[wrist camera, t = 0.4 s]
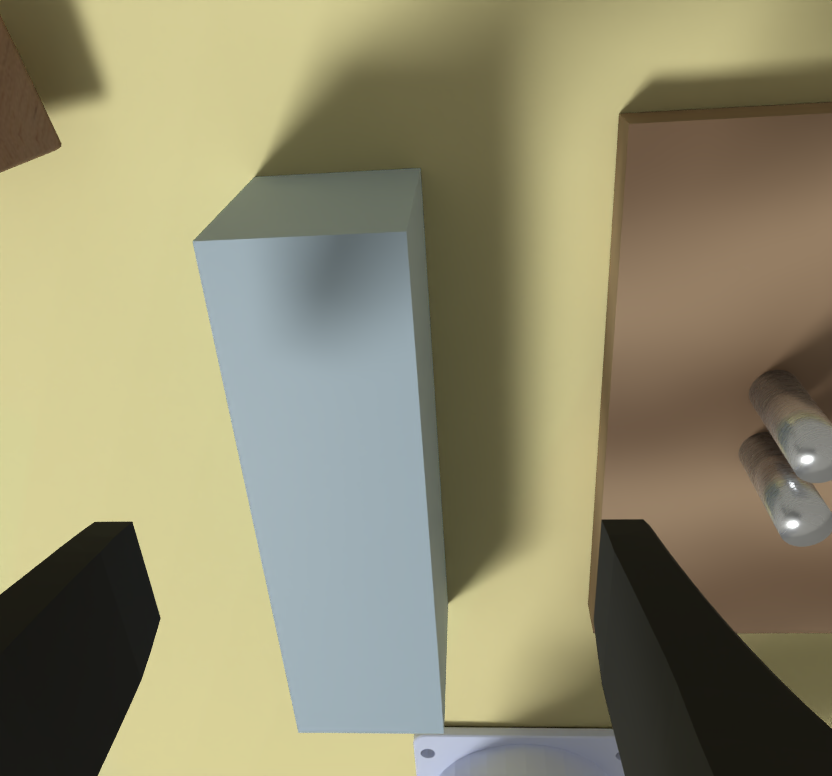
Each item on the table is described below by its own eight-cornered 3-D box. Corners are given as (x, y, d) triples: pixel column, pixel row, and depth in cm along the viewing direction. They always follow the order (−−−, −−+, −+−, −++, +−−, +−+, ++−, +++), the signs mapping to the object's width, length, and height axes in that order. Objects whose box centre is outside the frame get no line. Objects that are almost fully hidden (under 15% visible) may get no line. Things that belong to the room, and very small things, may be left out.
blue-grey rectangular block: (448, 598, 25) (444, 733, 21) (327, 599, 25) (298, 732, 21) (421, 165, 18) (406, 231, 14) (256, 174, 19) (192, 241, 14)
